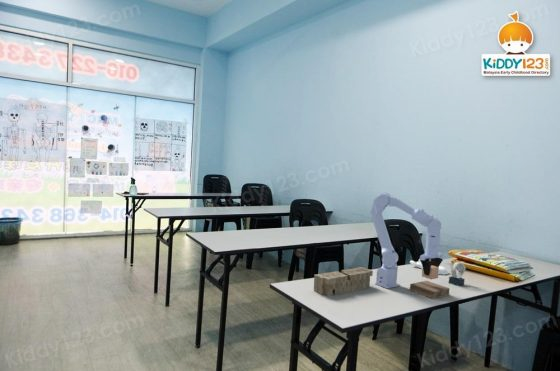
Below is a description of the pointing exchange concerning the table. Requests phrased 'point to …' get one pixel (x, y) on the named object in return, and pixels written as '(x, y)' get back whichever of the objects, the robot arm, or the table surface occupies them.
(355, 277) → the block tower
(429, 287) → the base block
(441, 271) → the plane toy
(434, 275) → the cube
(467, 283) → the table surface
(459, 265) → the watch
